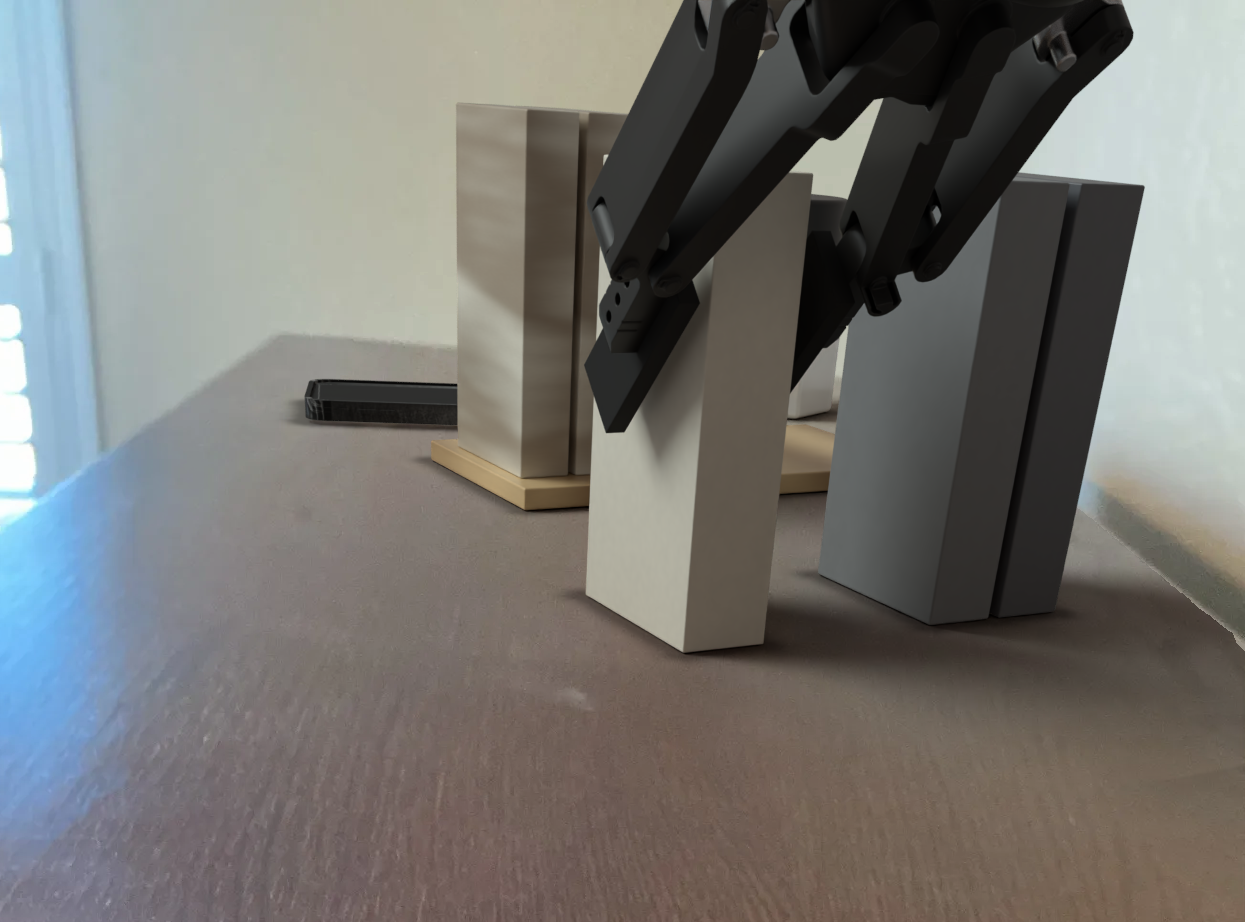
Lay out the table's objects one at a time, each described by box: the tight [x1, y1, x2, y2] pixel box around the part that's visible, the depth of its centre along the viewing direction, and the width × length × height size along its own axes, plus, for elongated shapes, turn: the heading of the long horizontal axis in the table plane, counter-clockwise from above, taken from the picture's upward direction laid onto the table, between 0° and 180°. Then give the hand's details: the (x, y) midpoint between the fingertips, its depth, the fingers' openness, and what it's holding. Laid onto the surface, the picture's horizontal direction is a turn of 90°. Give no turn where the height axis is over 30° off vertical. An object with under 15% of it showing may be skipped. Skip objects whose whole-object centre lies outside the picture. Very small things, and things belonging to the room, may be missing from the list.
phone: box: [303, 378, 458, 427], centre depth 92 cm, size 8×1×15 cm
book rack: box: [430, 102, 835, 511], centre depth 78 cm, size 24×12×16 cm, turn 117°
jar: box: [787, 193, 848, 419], centre depth 98 cm, size 9×8×12 cm
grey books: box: [817, 171, 1146, 626], centre depth 60 cm, size 6×8×15 cm
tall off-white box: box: [585, 155, 814, 654], centre depth 55 cm, size 4×8×15 cm, turn 27°
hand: (677, 396), depth 55 cm, fingers open, 5 cm apart
